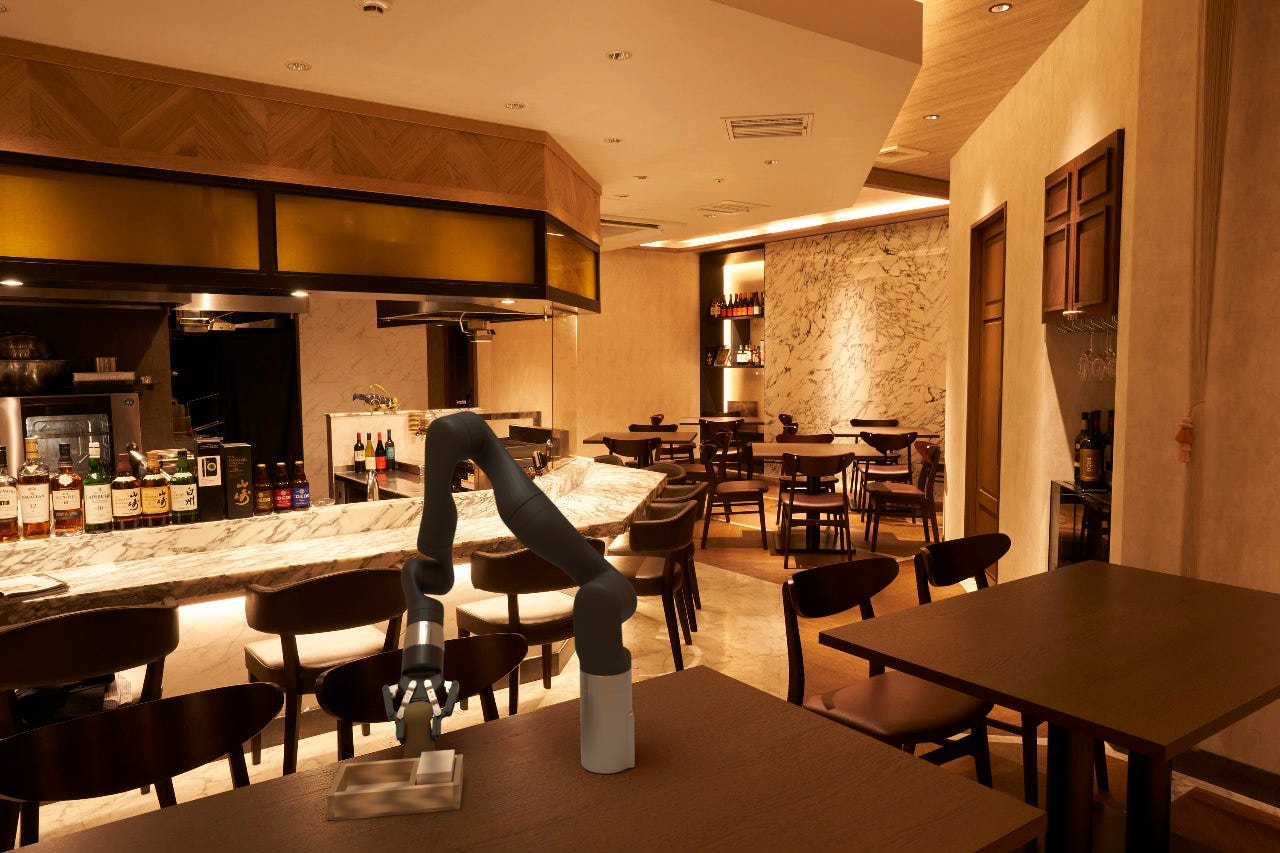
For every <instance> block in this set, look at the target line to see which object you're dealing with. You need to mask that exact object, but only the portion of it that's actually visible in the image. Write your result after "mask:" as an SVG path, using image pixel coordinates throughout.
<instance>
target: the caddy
mask: <svg viewBox="0 0 1280 853" xmlns="http://www.w3.org/2000/svg"><path fill="white" fill-rule="evenodd" d="M455 751H456V750H455V749H445V750H435V751H430V752H422V753H421V758H410V759H403V758H401V759H398V758H397V759H388V760H387V759H385V760H375V761H373V760H372V761H364V762H363V761H361V762H350V763H342V764H341V765H340V767H339V770H338V771H337V774H336V775H335V778H334V781H333V783H332V785H331V787H330V789H329V791H328V793H327V821H328V820H335V821H343V820H356V819H367V818H377V817H379V818H380V817H388V816H389V817H390V816H400V815H410V814H421V813H433V812H445V811H446V812H447V811H455V810H460V808H461V801H462V793H463V785H464V754H462V753H461V754H455Z"/></svg>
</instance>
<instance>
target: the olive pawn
mask: <svg viewBox="0 0 1280 853" xmlns="http://www.w3.org/2000/svg"><path fill="white" fill-rule="evenodd" d="M403 717H404V721H405V723H406V729H405V743H404V747H403V748H404V750H403V757H402V759H410V758H421V753H422V752H430V751H436V747H435V741H432V723H431V721H433V717H434V714H433V707H432V705H431V704H430V703H428V702H424V701H418V702H413V703H411V704H409V705H407V706H406V708H405V709H404V713H403Z"/></svg>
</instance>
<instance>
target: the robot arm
mask: <svg viewBox="0 0 1280 853" xmlns="http://www.w3.org/2000/svg"><path fill="white" fill-rule="evenodd" d="M496 434H497V433H495V431H494V430H493V429H492V428H491V426H490V425H489V424H488V422H487V421H486V419H484V418H483V417H482V416H480V414H478V413H476V412H474V411H471V410H463V411H459V412H455V413H451V414H446V415H442V416H439V417H437V418H435V419H433V420H432V421H431V422H430V423H429V424H428V427H427V428H426V433H425V437H424V438H425V439H424V468H423V470H424V471H423V474H424V475H423V479H424V480H423V482H424V483H423V486H424V488H423V507H422V512H421V513H422V514H421V519H420V522H419V523H420V524H419V528H418V533H417V539H416V548H417V549H416V550H417V551H418V552H419V553H420V554H422V555H423V556H425V557H428V559H427V558H419V557H418V558H417V557H416V558H415V557H414V558H410V559H408V560H406V562H405V563H404V564H403V566H402V568H401V570H400V571H401V572H400V581H401V587H402V590H403V594H404V598H405V603H406V612H407V613H406V625H405V626H406V627H405V634H404V638H403V645H402V646H403V647H402V657H401V658H402V660H401V669H400V670H401V672H400V678H399V680H398V682H397V684H394V685H391V686H389V685H388V684H384V685H383V686H382V688H381V690H382V694H383V700H384V707H385V712H386V716H387V719H388V721H389V722H396V726H395V737H396V741H397V742H399V744H400V745H403V744H404V745H405V737H406V728H407V724H406V722H405V721H404V717H403V713H404V709H405V708H406V706H407V705H409V704H411V703H413V702H418V701H424V702H428V703H430V704H431V705H432V707H433V718H432V720H431V721H432V723H431V727H432V741H434V742H437V740H438V739H439V738H440V737H441V736H442V720H444V718H450V717H452V715H453V712H454V710H455V705H456V702H457V699H458V695H459V692H460V684H459V681H458V680H457V679H455V680H452V681H447V680H445V678H444V655H445V635H444V625H445V624H444V623H445V622H444V619H445V607H444V604H443V602H441V601H440V600H439V599H436V598H434V597H431V596H445V595H447V594H448V593H450V592H451V590H453V587H454V585H455V569H454V563H453V561H454V560H453V548H454V540H455V538H456V537H455V536H456V532H457V527H458V520H459V518H458V517H459V514H458V508H457V504H456V501H455V499H454V496H453V493H452V478H453V475H454V473H455V469H456V466H457V464H459V463H463V462H465V461H468V460H470V461H472V462H473V463H474V464H475V465H476V466H477V467H478V468H479V469H480V470H481V472H482V473H483V474H484V475H485V476H486V478H487V480H488V481H489V483H490V485H491V487H492V492H493V496H494V502H495V506H496V509H497V513H498V515H499V518H500V519H501V521H502V522H503V525H505V526H506V528H508V530H509V531H510V532H511V533H512V535H513V536H514V537H515V538H516V539H517V541H519V542H520V543H521V544H522V546H524V547H525V548H526V549H528V550H529V551H530V552H532V553H533V554H535V555H537V556H538V557H540V558H542V559H544V560H545V561H547V562H548V563H550V564H553V565H554V566H556V567H557V568H559V569H560V570H562V571H563V572H564V573H565V574H567V575H568V576H569V577H570V578H571V579H572V580H573V582H574V583H575V584H576V585H577V586H578V588H579V589H578V590H577V591H576V593H575V595H574V599H573V604H572V605H573V606H572V619H573V620H572V622H573V637H574V638H573V639H574V640H573V641H574V649H575V653H576V656H577V658H578V661H579V663H578V664H579V709H580V710H579V712H580V713H579V717H580V719H579V720H580V724H579V725H580V763H581V766H582V768H583V769H585V770H586V771H589V772H592V773H596V774H616V773H619V772H622V771H624V770H627V769H629V768H635V767H636V761H635V759H636V758H635V756H636V755H635V753H636V748H635V745H636V744H635V740H636V739H635V713H634V711H633V688H632V687H633V686H632V685H633V682H632V680H633V679H632V676H633V675H632V672H633V671H632V662H633V661H632V653H631V651H630V649H629V648H627V647H626V646H624V641H623V640H624V639H623V624H624V623H625V622H627V621H628V620H630V619H631V618H632V617H633V616H634V614H635V613H636V611H637V608H638V596H637V592H636V589H635V588H634V586H633V584H632V583H631V582H630V580H629V579H628V578H627V577H626V576H625V575H624V574H623V573H622V572H620V570H619V569H617V568H616V567H615V566H614V565H612V563H611V562H609V561H608V560H607V559H606V558H605V557H604V556H603V555H601V553H599V551H597V550H596V548H594V547H593V546H592V544H591V543H590V542H588V540H587V539H586V538H585V537H584V536H583V535H582V533H581V532H580V531H579V530H578V529H577V528H576V527H575V526H574V525H573V523H571V521H570V520H569V519H568V518H567V517H566V516H565V514H564V513H562V511H561V510H560V509H559V507H557V505H556V504H555V503H554V502H553V501H552V499H550V497H549V496H548V495H547V494H546V493H545V492H544V491H543V490H542V489H541V488H540V487H539V486H538V485H537V484H536V483H535V481H534V480H532V478H531V477H530V476H529V475H528V474H527V473H526V471H525V470H524V469H523V467H521V465H520V464H519V463H518V462H517V461H516V460H515V458H514V457H513V456H512V455H511V454H510V452H509V451H508V449H507V448H506V447H505V445H504V444H503V443H502V441H501V440H500V439H499V437H498V436H497V435H496ZM429 558H430V559H429ZM444 689H445V692H446V695H447V698H446V701H445V705H444V707H442V708H440V707H441V706H440V705H439V702H438V699H437V697H439V695H441V693H442V692H443V690H444ZM398 692H399V693H400V695H401V696H402V697H403V698H402V701H401V704H400V707H399V709H398V711H395V709H394V703H393V699H395V698H396V697H397V696H396V694H397V693H398Z"/></svg>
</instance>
